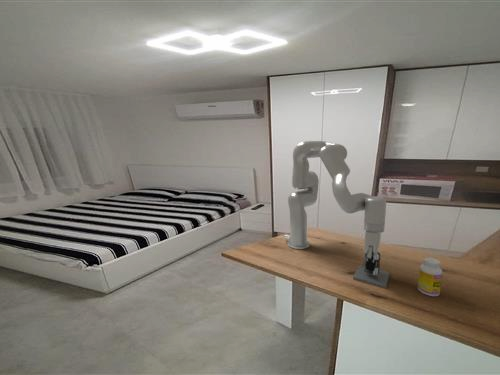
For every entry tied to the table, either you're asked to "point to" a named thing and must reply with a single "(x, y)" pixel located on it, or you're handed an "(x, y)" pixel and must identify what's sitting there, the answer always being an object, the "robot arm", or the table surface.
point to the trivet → (371, 277)
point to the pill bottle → (377, 264)
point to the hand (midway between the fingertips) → (371, 266)
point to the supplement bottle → (430, 277)
